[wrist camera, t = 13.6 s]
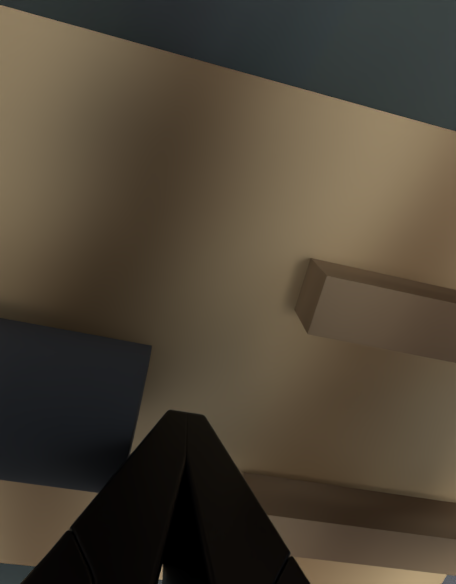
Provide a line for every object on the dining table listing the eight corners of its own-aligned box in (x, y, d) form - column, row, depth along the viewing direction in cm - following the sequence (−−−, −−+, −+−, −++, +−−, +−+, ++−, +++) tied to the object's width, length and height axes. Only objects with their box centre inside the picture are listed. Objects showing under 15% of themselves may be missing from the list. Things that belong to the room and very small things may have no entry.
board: (625, 186, 9) (744, 199, 7) (411, 575, 14) (449, 652, 12) (-540, -134, 6) (-888, -262, 4) (-350, 487, 11) (-481, 569, 9)
